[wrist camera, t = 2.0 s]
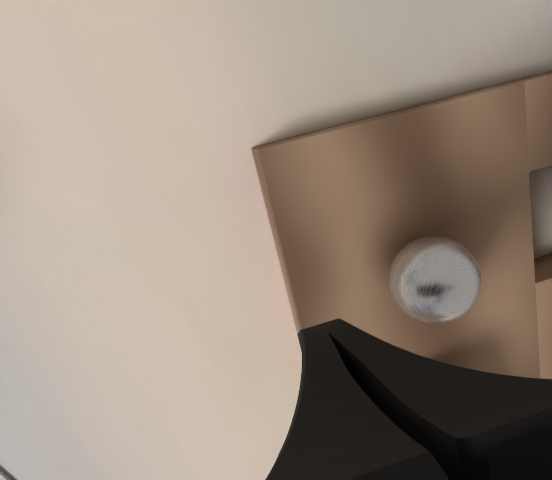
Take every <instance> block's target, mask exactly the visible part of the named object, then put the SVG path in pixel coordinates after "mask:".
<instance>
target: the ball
mask: <svg viewBox="0 0 552 480" xmlns="http://www.w3.org/2000/svg"><path fill="white" fill-rule="evenodd" d="M389 287H390V291H391V294H392V296H393V298H394V300H395V301H396V303H397V304H398V306H399V307H400V308H401V309H402V310H403V311H404V312H405V313H407V314H408V315H410V316H411V317H413V318H415V319H417V320H419V321H422V322H426V323H432V324H442V323H448V322H451V321H454V320H457V319H459V318H461V317H462V316H464V315H465V314H466V313H468V312H469V311H470V310H471V309H472V308H473V306H474V305H475V304H476V302H477V300H478V298H479V295H480V292H481V288H482V275H481V270H480V267H479V265H478V263H477V261H476V259H475V258H474V256H473V255H472V254H471V252H470V251H469V250H468V249H466V248H465V247H464V246H463V245H461V244H459V243H458V242H456V241H454V240H451V239H448V238H444V237H437V236H430V237H423V238H419V239H416V240H414V241H412V242H410V243H408V244H407V245H405V246H404V247H403V248H402V249H401V250H400V251H399V252H398V253H397V255H396V256H395V257H394V259H393V261H392V264H391V266H390V270H389Z"/></svg>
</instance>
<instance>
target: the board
mask: <svg viewBox="0 0 552 480" xmlns="http://www.w3.org/2000/svg"><path fill="white" fill-rule="evenodd" d="M251 149H252V153H253V157H254V161H255V165H256V169H257V173H258V177H259V181H260V185H261V189H262V193H263V197H264V201H265V205H266V209H267V213H268V217H269V221H270V225H271V229H272V233H273V237H274V241H275V245H276V249H277V253H278V257H279V261H280V265H281V269H282V273H283V277H284V281H285V285H286V289H287V293H288V297H289V301H290V305H291V309H292V313H293V317H294V321H295V325H296V329H297V333H299V331H300V330H302V329H305V328H309V327H312V326H315V325H318V324H322V323H325V322H328V321H331V320H335V319H338V318H340V319H342V320H344V321H346V322H348V323H349V324H351V325H353V326H355V327H357V328H359V329H361V330H363V331H365V332H367V333H369V334H371V335H372V336H375V337H377V338H379V339H381V340H383V341H385V342H387V343H390V344H392V345H394V346H397V347H399V348H402V349H404V350H407V351H409V352H412V353H414V354H417V355H420V356H423V357H426V358H430V359H433V360H436V361H440V362H443V363H447V364H451V365H455V366H459V367H464V368H468V369H473V370H478V371H483V372H489V373H496V374H502V375H511V376H519V377H527V378H542V379H552V254H550V255H547V256H544V257H540V258H537V259H534V250H533V232H532V213H531V195H530V176H529V172H531V171H535V170H538V169H542V168H545V167H549V166H552V71H551V72H548V73H544V74H540V75H536V76H532V77H528V78H524V79H520V80H516V81H512V82H508V83H504V84H500V85H497V86H493V87H489V88H485V89H481V90H477V91H473V92H469V93H465V94H461V95H457V96H453V97H450V98H446V99H442V100H438V101H434V102H430V103H426V104H422V105H418V106H414V107H410V108H406V109H402V110H399V111H395V112H391V113H387V114H383V115H379V116H375V117H371V118H367V119H363V120H359V121H355V122H352V123H348V124H344V125H340V126H336V127H332V128H328V129H324V130H320V131H316V132H312V133H308V134H304V135H301V136H297V137H293V138H289V139H285V140H281V141H277V142H273V143H269V144H265V145H261V146H257V147H254V148H251ZM430 236H437V237H444V238H448V239H451V240H454V241H456V242H458V243H459V244H461V245H463V246H464V247H465V248H466V249H468V250H469V251H470V252H471V254H472V255H473V256H474V258H475V259H476V261H477V263H478V265H479V267H480V270H481V275H482V288H481V292H480V295H479V298H478V300H477V302H476V304H475V305H474V306H473V308H472V309H471V310H470V311H469V312H468V313H466V314H465V315H464V316H462V317H461V318H459V319H457V320H454V321H451V322H448V323H442V324H432V323H426V322H422V321H419V320H417V319H415V318H413V317H411V316H410V315H408V314H407V313H405V312H404V311H403V310H402V309H401V308H400V307H399V306H398V304H397V303H396V301H395V300H394V298H393V296H392V294H391V291H390V287H389V270H390V266H391V264H392V261H393V259H394V257H395V256H396V255H397V253H398V252H399V251H400V250H401V249H402V248H403V247H404V246H405V245H407V244H408V243H410V242H412V241H414V240H416V239H419V238H423V237H430Z"/></svg>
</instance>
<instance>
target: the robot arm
mask: <svg viewBox="0 0 552 480" xmlns="http://www.w3.org/2000/svg"><path fill="white" fill-rule="evenodd" d="M298 339H299V343H300V347H301V351H302V374H301V382H300V390H299V395H298V400H297V405H296V409H295V413H294V416H293V419H292V422H291V426H290V429H289V432H288V434H287V437H286V440H285V442H284V444H283V446H282V448H281V451H280V453H279V455H278V457H277V460H276V462H275V464H274V466H273V468H272V470H271V471H270V473H269V475H268V476H267V478H266V480H552V379H542V378H527V377H519V376H511V375H502V374H496V373H489V372H483V371H478V370H473V369H468V368H464V367H459V366H455V365H451V364H447V363H443V362H440V361H436V360H433V359H430V358H426V357H423V356H420V355H417V354H414V353H412V352H409V351H407V350H404V349H402V348H399V347H397V346H394V345H392V344H390V343H387V342H385V341H383V340H381V339H379V338H377V337H375V336H372V335H371V334H369V333H367V332H365V331H363V330H361V329H359V328H357V327H355V326H353V325H351V324H349V323H348V322H346V321H344V320H342V319H340V318H338V319H335V320H331V321H328V322H325V323H322V324H318V325H315V326H312V327H309V328H305V329H302V330H300V331H299V333H298Z"/></svg>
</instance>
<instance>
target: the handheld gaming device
mask: <svg viewBox="0 0 552 480" xmlns="http://www.w3.org/2000/svg"><path fill="white" fill-rule="evenodd" d="M0 480H11V479H10V478H9V477H8V476H7V475H6V474H5V473H3V472H2V471H1V470H0Z"/></svg>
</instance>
